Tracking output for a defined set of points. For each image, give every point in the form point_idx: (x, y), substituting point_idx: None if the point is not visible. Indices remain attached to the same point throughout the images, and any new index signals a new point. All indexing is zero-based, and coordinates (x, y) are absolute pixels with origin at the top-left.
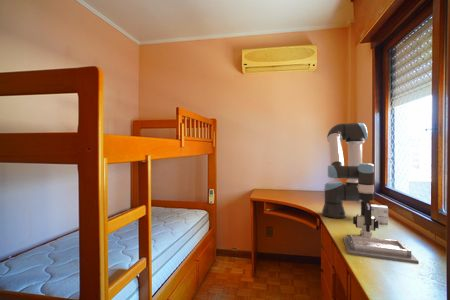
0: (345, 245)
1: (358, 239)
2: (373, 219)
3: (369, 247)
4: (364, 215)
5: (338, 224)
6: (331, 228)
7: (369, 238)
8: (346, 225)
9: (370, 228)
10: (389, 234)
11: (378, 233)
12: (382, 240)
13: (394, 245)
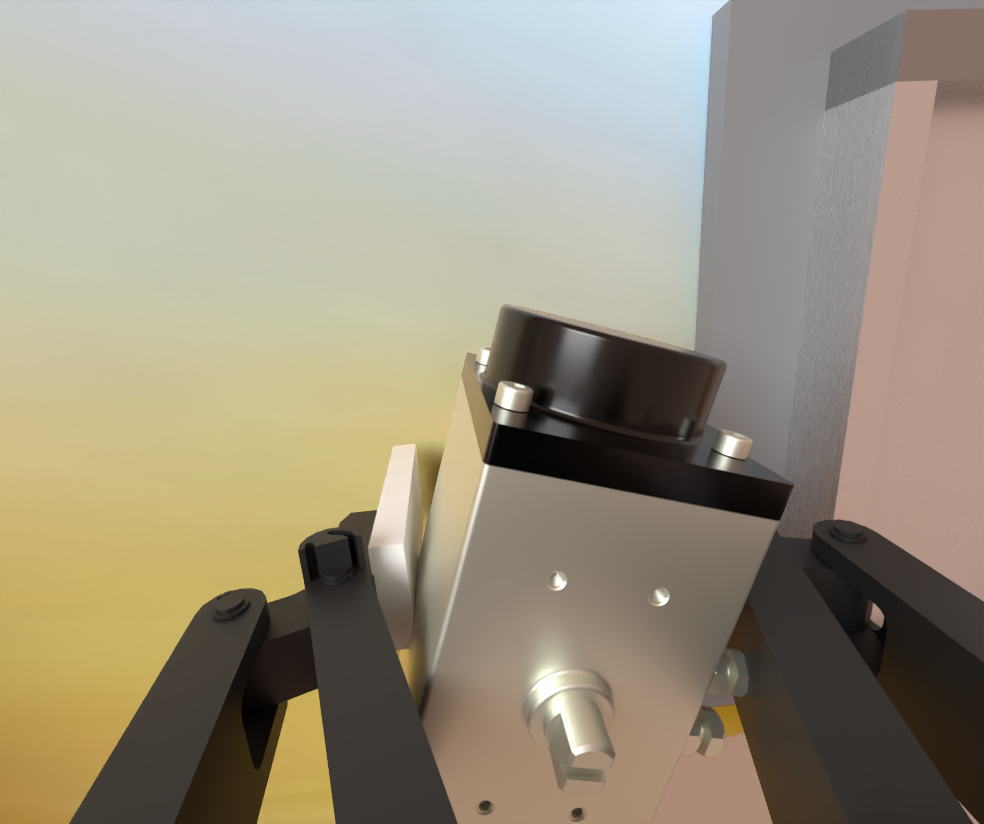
0: None
1: None
2: (768, 518)
3: None
4: (785, 815)
5: (68, 773)
6: (330, 819)
7: (864, 483)
8: (47, 682)
9: None
10: (172, 65)
11: (221, 259)
12: (884, 317)
13: (941, 169)
